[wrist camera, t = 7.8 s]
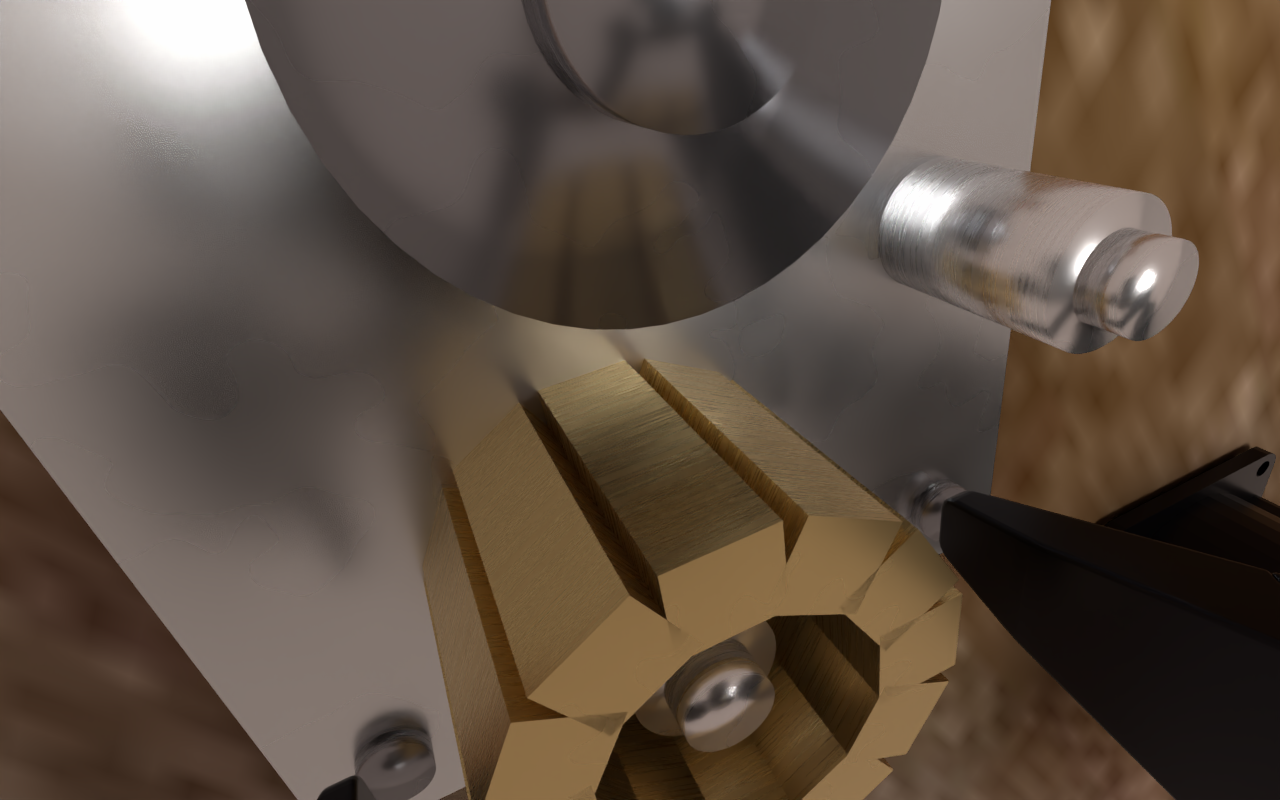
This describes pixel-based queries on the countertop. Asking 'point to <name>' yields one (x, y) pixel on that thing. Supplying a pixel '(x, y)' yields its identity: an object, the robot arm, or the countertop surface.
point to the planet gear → (675, 596)
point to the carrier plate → (506, 292)
